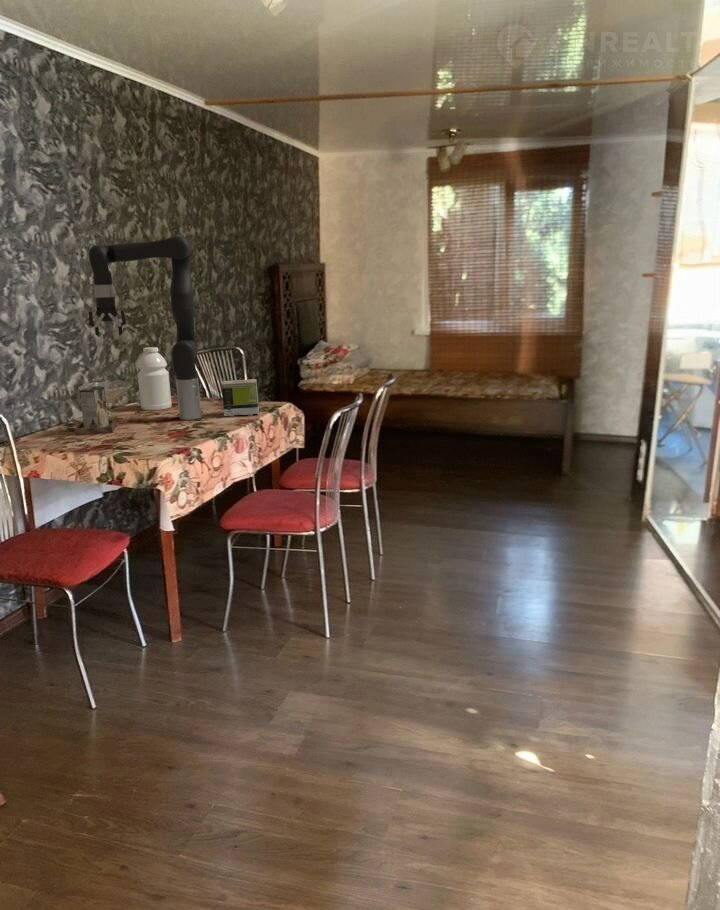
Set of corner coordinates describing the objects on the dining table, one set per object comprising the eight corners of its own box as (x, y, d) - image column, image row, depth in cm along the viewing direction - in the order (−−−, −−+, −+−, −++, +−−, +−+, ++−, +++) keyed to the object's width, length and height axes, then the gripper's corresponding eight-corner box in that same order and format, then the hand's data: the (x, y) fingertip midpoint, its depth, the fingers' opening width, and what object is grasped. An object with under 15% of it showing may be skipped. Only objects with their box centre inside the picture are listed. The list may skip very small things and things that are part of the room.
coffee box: (94, 425, 285) (89, 386, 281) (109, 425, 284) (104, 386, 280) (84, 430, 276) (78, 390, 272) (99, 430, 276) (94, 390, 271)
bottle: (144, 405, 331) (138, 346, 324) (174, 404, 332) (168, 345, 325) (138, 411, 318) (131, 350, 310) (169, 409, 319) (163, 348, 312)
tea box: (259, 411, 311) (257, 378, 307) (258, 415, 301) (256, 382, 298) (225, 412, 309) (222, 380, 306) (223, 417, 300) (221, 383, 296)
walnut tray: (116, 425, 288) (115, 419, 288) (112, 432, 275) (111, 426, 274) (81, 427, 285) (80, 422, 285) (75, 435, 272) (74, 429, 272)
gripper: (123, 295, 289) (128, 334, 293) (87, 296, 286) (92, 336, 290) (122, 295, 282) (126, 336, 286) (85, 297, 279) (90, 337, 283)
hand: (109, 336), depth 288 cm, fingers open, 8 cm apart
